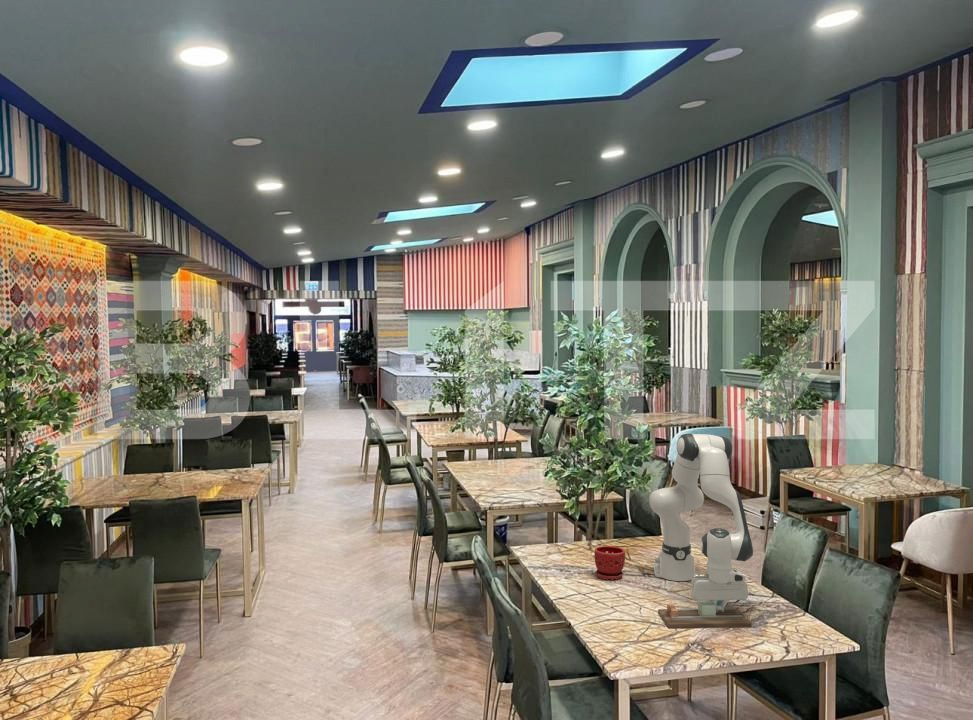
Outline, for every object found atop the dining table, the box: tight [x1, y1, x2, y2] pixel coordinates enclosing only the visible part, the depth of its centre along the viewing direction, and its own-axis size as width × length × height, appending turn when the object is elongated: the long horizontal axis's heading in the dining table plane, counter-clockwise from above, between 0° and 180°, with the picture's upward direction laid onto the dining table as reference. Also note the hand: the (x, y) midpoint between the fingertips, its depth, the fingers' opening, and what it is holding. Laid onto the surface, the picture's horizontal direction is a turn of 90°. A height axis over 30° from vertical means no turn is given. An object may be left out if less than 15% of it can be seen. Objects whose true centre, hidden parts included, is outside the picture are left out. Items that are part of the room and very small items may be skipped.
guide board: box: [657, 602, 753, 629], centre depth 262 cm, size 14×30×5 cm, turn 91°
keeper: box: [697, 601, 716, 616], centre depth 262 cm, size 5×5×4 cm
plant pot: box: [593, 545, 626, 581], centre depth 310 cm, size 13×13×12 cm
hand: (719, 611), depth 262 cm, fingers closed
